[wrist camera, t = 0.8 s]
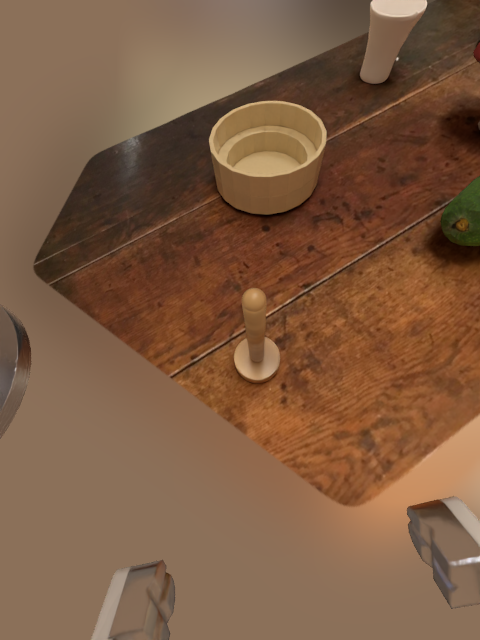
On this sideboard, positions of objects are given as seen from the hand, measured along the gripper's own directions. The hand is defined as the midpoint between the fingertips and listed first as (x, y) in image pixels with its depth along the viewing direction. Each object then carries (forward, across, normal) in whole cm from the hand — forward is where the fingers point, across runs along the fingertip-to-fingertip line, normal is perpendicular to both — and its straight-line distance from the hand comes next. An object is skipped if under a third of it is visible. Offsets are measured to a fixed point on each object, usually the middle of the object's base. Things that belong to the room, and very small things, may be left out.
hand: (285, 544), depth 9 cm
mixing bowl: (+42, -9, -17) cm, 46 cm away
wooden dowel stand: (+23, 0, +5) cm, 23 cm away
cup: (+58, -36, -32) cm, 75 cm away
